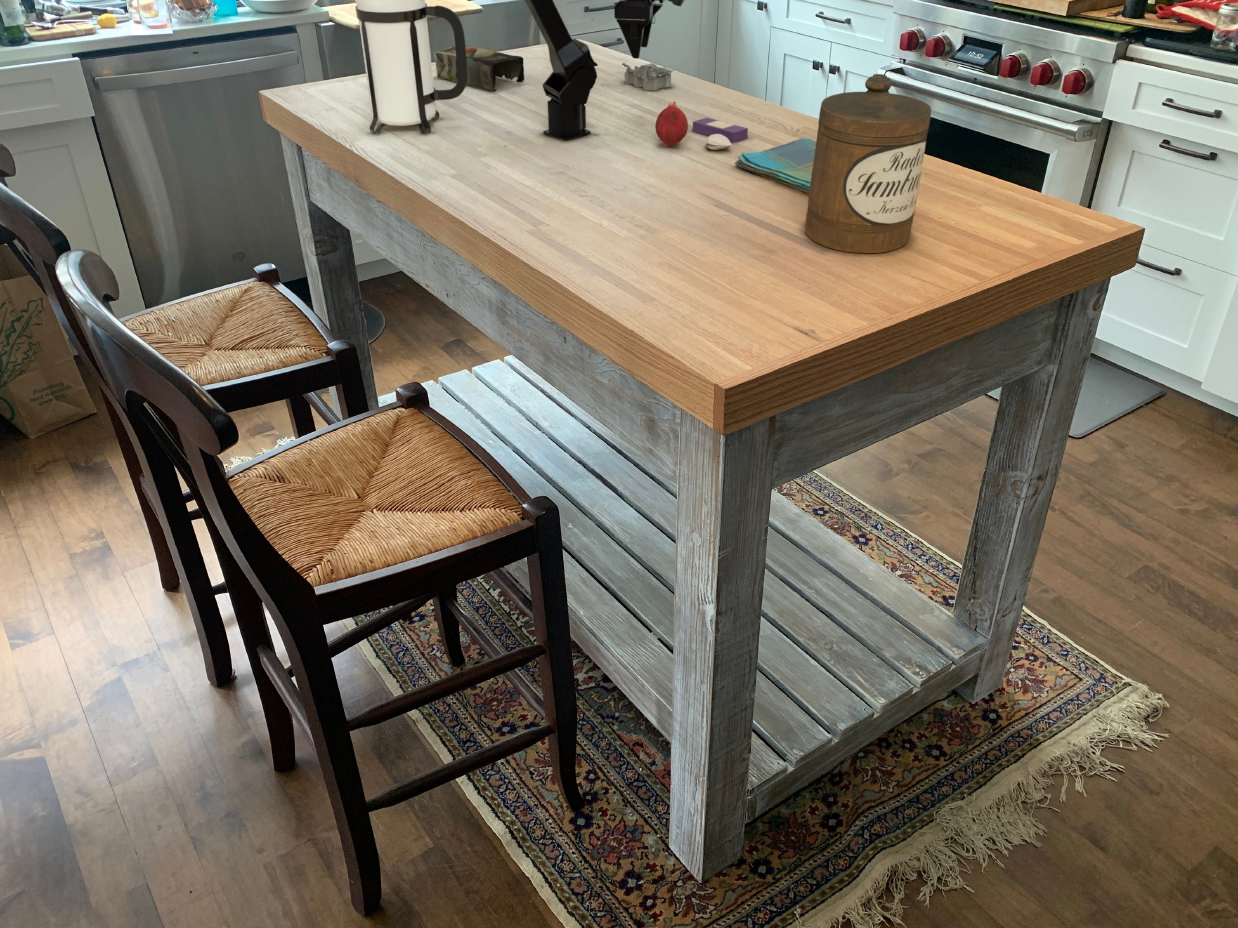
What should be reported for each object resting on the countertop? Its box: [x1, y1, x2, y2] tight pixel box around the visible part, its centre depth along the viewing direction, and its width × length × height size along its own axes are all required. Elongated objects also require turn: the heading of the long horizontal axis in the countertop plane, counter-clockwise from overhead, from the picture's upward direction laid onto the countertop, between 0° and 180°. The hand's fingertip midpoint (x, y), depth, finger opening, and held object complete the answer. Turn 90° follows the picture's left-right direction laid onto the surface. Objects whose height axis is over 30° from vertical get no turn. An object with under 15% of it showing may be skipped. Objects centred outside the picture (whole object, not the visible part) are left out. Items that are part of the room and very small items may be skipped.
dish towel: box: [734, 137, 816, 194], centre depth 162 cm, size 17×23×3 cm
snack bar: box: [691, 117, 749, 144], centre depth 182 cm, size 10×4×2 cm, turn 44°
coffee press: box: [354, 0, 467, 135], centre depth 179 cm, size 17×16×30 cm
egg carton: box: [621, 62, 674, 91], centre depth 212 cm, size 11×8×4 cm
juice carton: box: [434, 44, 525, 92], centre depth 214 cm, size 20×10×6 cm, turn 48°
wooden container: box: [804, 73, 932, 254], centre depth 136 cm, size 15×15×22 cm
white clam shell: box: [705, 134, 733, 151], centre depth 174 cm, size 4×5×2 cm
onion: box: [654, 100, 689, 148], centre depth 174 cm, size 6×6×8 cm
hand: (640, 52), depth 181 cm, fingers open, 9 cm apart
